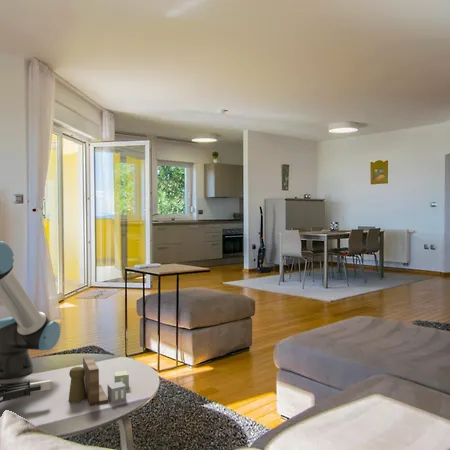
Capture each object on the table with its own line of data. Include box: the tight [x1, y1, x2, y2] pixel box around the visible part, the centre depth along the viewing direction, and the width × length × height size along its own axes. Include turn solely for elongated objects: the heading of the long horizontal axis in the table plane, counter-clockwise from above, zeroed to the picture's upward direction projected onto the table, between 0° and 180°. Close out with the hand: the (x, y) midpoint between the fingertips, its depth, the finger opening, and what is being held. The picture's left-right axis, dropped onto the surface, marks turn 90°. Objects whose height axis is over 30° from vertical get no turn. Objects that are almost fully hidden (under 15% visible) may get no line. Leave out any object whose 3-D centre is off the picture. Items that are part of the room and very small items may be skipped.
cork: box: [68, 366, 88, 404], centre depth 156 cm, size 6×6×11 cm
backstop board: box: [82, 355, 109, 407], centre depth 158 cm, size 16×6×12 cm, turn 25°
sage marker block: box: [114, 370, 130, 389], centre depth 167 cm, size 5×5×5 cm
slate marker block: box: [107, 382, 127, 404], centre depth 155 cm, size 5×5×5 cm
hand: (51, 384), depth 152 cm, fingers closed
